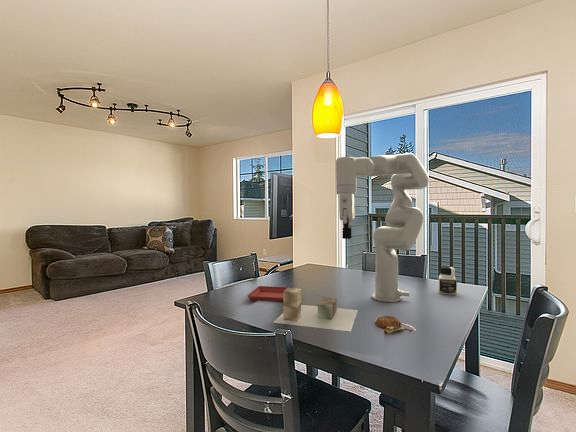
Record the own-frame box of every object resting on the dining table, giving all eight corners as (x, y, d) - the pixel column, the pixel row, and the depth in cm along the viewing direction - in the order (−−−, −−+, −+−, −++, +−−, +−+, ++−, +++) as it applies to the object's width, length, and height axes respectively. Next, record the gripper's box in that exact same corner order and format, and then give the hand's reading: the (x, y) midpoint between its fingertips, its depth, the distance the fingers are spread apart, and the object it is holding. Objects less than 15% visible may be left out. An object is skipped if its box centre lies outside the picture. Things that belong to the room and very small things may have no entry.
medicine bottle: (439, 293, 151) (439, 267, 151) (438, 289, 158) (438, 265, 158) (456, 295, 149) (456, 268, 148) (455, 291, 155) (455, 266, 155)
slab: (357, 313, 124) (357, 310, 124) (350, 335, 103) (350, 331, 103) (292, 306, 131) (292, 303, 131) (273, 326, 110) (273, 322, 110)
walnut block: (331, 319, 113) (336, 311, 123) (331, 305, 113) (336, 297, 122) (317, 318, 114) (323, 309, 124) (317, 304, 114) (323, 296, 124)
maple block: (301, 316, 116) (301, 288, 116) (297, 321, 112) (297, 292, 111) (287, 315, 118) (287, 287, 117) (283, 319, 113) (283, 291, 113)
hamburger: (394, 342, 99) (394, 322, 99) (363, 326, 111) (363, 309, 111) (426, 333, 105) (426, 315, 105) (394, 319, 118) (394, 303, 117)
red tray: (258, 292, 155) (258, 285, 155) (296, 294, 152) (296, 287, 152) (246, 303, 137) (246, 295, 137) (288, 306, 134) (288, 298, 134)
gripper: (354, 189, 115) (355, 241, 116) (358, 190, 130) (358, 236, 130) (333, 190, 117) (334, 240, 118) (339, 190, 132) (339, 236, 133)
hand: (347, 238), depth 124 cm, fingers closed
